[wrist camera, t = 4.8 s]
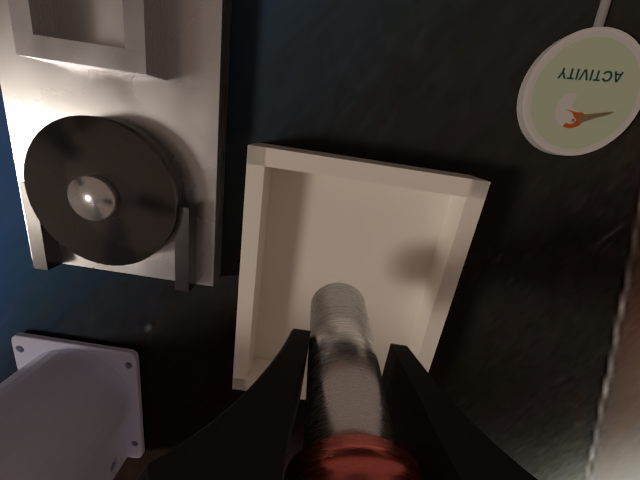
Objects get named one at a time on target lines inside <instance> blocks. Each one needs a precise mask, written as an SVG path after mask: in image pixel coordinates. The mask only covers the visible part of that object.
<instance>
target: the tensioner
mask: <svg viewBox="0 0 640 480" xmlns="http://www.w3.org/2000/svg"><path fill="white" fill-rule="evenodd" d="M231 16H232V0H0V83H1V89H2V94H3V100H4V105H5V111H6V117H7V122H8V128H9V133H10V139H11V144H12V150H13V155H14V161H15V166H16V172H17V178H18V183H19V189H20V194H21V200H22V205H23V211H24V216H25V222H26V228H27V233H28V239H29V244H30V250H31V255H32V259H33V264H34V268H36V269H43V270H49V269H51V268H53V267H55V266H57V265H60V264H62V263H63V264H70V265H76V266H83V267H89V268H96V269H102V270H109V271H115V272H122V273H129V274H135V275H142V276H148V277H155V278H161V279H168V280H174V281H175V290H180V291H187V292H189V291H190V290H191V289H192V287H193V286H194V285H195V284H200V285H207V286H214V285H215V283H216V282H217V281H218V279H219V278H220V277H221V256H222V232H223V208H224V184H225V160H226V136H227V112H228V88H229V64H230V40H231Z"/></svg>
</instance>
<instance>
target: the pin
mask: <svg viewBox="0 0 640 480" xmlns="http://www.w3.org/2000/svg"><path fill="white" fill-rule="evenodd" d="M309 331H311V332H310V341H309V348H308V367H307V386H306V405H305V425H304V444H303V449H302V450H301V451H300V452H298V453H297V454H296V455H295V456H294V457H293V458H292V460H291V461H290V462H289V464H288V466H287V468H286V472H285V479H284V480H423V476H422V473H421V469H420V466H419V463H418V462H417V460H416V458H415V457H414V456H413V455H412V454H411V453H410V452H409V451H408V450H407V449H405V448H404V447H402V446H401V445H399V444H397V442H396V437H395V433H394V428H393V424H392V420H391V415H390V411H389V406H388V402H387V397H386V393H385V388H384V384H383V380H382V375H381V371H380V366H379V362H378V357H377V353H376V349H375V344H374V340H373V335H372V331H371V326H370V322H369V318H368V313H367V309H366V304H365V300H364V297H363V295H362V294H361V292H360V291H359V290H358V289H357V288H355V287H354V286H352V285H349V284H346V283H331V284H327V285H325V286H323V287H321V288H320V289H319V290H318V291H317V292H316V293H315V294H314V296H313V298H312V300H311V309H310V328H309Z"/></svg>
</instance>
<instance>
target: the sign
mask: <svg viewBox="0 0 640 480" xmlns="http://www.w3.org/2000/svg"><path fill="white" fill-rule="evenodd" d="M610 4H611V0H601V3H600V6H599V9H598V12H597V16H596V19H595V22H594V26H593V28H587V29H584V30H581V31H578V32H575V33H573V34H571V35H568V36H566V37H564V38H562V39H560V40H558V41H557V42H555V43H554V44H552V45H551V46H550V47H548V48H547V49H546V50H545V51H544V52H543V53H542V54H541V55H540V56H539V57H538V58H537V59H536V60H535V62H534V63H533V64H532V66H531V67H530V69H529V70H528V72H527V74H526V76H525V78H524V80H523V82H522V84H521V87H520V91H519V95H518V100H517V117H518V122H519V125H520V128H521V130H522V132H523V134H524V136H525V137H526V139H527V140H528V141H529V142H530V143H531V144H532V145H533V146H535V147H536V148H538V149H539V150H541V151H543V152H546V153H550V154H555V155H566V156H573V155H581V154H586V153H589V152H592V151H595V150H597V149H599V148H601V147H603V146H605V145H607V144H608V143H610V142H611V141H613V140H614V139H615V138H617V137H618V136H619V135H620V134H621V133H622V132H623V131H624V130H625V129H626V128H627V127H628V126H629V125H630V123H631V122H632V121H633V119H634V118H635V116H636V115H637V113H638V111H639V110H640V45H639V44H638V42H637V41H636V40H635V39H634V38H633V37H631V36H630V35H629V34H627V33H625V32H623V31H621V30H618V29H615V28H610V27H603V26H604V23H605V20H606V17H607V13H608V10H609V7H610Z"/></svg>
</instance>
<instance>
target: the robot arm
mask: <svg viewBox="0 0 640 480" xmlns="http://www.w3.org/2000/svg"><path fill="white" fill-rule="evenodd" d="M310 332H311V331H308V330H301V329H295V328H294V329H293V330H291V332H290V335H289V336H288V338H287V340H286V342H285V343H284V345H283V347H282V348H281V350H280V351H279V352H278V354H277V355H276V357H275V358H274V359H273V361H272V362H271V363H270V365H269V366H268V367H267V368H266V369H265V371H264V372H263V373H262V374H261V375H260V376H259V378H258V379H257V380H256V381H255V382H254V383H253V384H252V385H251V386H250V387H249V388H248V389H247V390H246V391H245V392H244V393H243V394H242V395H241V396H240V397H239V398H238V399H237V400H236V401H235V402H234V403H233V404H232V405H231V406H229V407H228V408H227V409H226V410H225V411H224V412H223V413H221V414H220V415H219V416H218V417H217V418H215V419H214V420H213V421H212V422H210V423H209V424H207V425H206V426H205V427H203V428H202V429H201V430H199V431H198V432H197V433H195V434H194V435H193V436H191V437H190V438H189V439H187V440H186V441H184V442H183V443H181V444H180V445H178V446H177V447H175V448H173V449H172V450H170V451H169V452H167V453H165V454H164V455H162V456H161V457H159V458H157V459H156V460H154V461H153V462H151V463H149V464H148V465H146V466H145V468H144V469H143V470H142V471H141V473H140V474H139V475H138V476H137V478H136V479H135V480H282V476H283V471H284V466H285V461H286V457H287V453H288V449H289V445H290V441H291V436H292V432H293V428H294V424H295V420H296V415H297V411H298V407H299V403H300V397H301V391H302V385H303V379H304V372H305V366H306V360H307V354H308V347H309V341H310ZM12 346H13V350H14V354H15V359H16V363H17V368H18V371H17V372H15V373H14V374H13V375H11V376H10V377H9V378H7V379H6V380H5V381H3V382H2V383H1V384H0V480H113V479H114V477H115V475H116V474H117V472H118V471H119V469H120V468H121V466H122V464H123V463H124V461H125V460H126V458H127V457H133V458H139V457H141V456H142V455H143V453H144V451H145V447H144V431H143V415H142V399H141V383H140V367H139V355H138V353H137V352H136V351H135V350H132V349H126V348H120V347H113V346H107V345H100V344H94V343H87V342H80V341H74V340H67V339H61V338H54V337H48V336H41V335H35V334H28V333H18V334H16V335H15V336H13V337H12ZM130 363H131V364H130ZM382 380H383V384H384V388H385V393H386V397H387V402H388V406H389V411H390V415H391V420H392V424H393V428H394V433H395V437H396V442H397V444H399V445H401V446H402V447H404V448H405V449H407V450H408V451H409V452H410V453H411V454H412V455H413V456H414V457H415V458H416V460H417V462H418V463H419V466H420V469H421V473H422V476H423V480H537V479H536V478H535V477H534V476H532V475H531V474H530V473H528V472H527V471H526V470H525V469H523V468H522V467H521V466H520V465H519V464H517V463H516V462H515V461H514V460H513V459H512V458H510V457H509V456H508V455H507V454H506V453H504V452H503V451H502V450H501V449H500V448H499V447H498V446H497V445H495V444H494V443H493V442H492V441H491V440H490V439H489V438H488V437H487V436H486V435H485V434H484V433H483V432H482V431H480V430H479V429H478V428H477V427H476V426H475V425H474V424H473V423H472V422H471V421H470V420H469V419H468V418H467V417H466V416H465V415H464V414H463V413H462V411H461V410H460V409H459V408H458V407H457V406H456V405H455V404H454V403H453V402H452V401H451V399H450V398H449V397H448V396H447V395H446V394H445V393H444V391H443V390H442V389H441V388H440V387H439V386H438V384H437V383H436V382H435V381H434V379H433V378H432V377H431V376H430V374H429V373H428V372H427V371H426V369H425V368H424V367H423V366H422V364H421V363H420V362H419V360H418V359H417V358H416V357H415V355H414V354H413V353H412V351H411V350H410V349H409V348H408V347H407V346H405V345H399V344H392V343H391V344H390V348H389V351H388V355H387V359H386V363H385V366H384V370H383V374H382Z"/></svg>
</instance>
